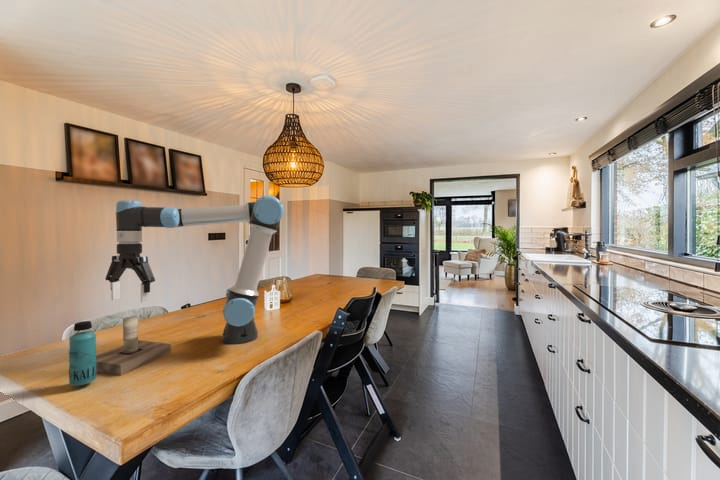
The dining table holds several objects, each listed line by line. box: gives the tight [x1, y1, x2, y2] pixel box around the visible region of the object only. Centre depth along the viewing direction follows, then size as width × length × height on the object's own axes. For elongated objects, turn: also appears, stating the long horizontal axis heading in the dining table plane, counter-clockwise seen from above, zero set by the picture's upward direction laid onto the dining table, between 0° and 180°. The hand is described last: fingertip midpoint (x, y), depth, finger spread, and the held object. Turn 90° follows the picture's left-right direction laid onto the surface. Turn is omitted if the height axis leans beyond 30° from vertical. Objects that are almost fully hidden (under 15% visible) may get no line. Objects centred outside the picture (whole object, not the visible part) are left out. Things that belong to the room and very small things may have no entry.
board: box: [96, 339, 172, 376], centre depth 114 cm, size 16×20×4 cm
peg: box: [122, 315, 139, 355], centre depth 114 cm, size 5×5×16 cm
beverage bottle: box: [68, 320, 98, 387], centre depth 95 cm, size 6×7×20 cm
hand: (130, 300), depth 114 cm, fingers open, 13 cm apart
